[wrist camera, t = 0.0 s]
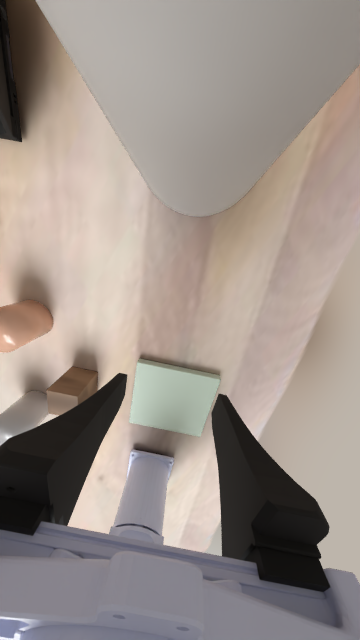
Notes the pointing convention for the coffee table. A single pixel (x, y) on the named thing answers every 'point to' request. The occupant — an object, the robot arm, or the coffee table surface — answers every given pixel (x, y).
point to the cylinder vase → (208, 83)
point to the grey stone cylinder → (23, 415)
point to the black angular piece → (7, 85)
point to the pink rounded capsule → (23, 324)
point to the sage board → (172, 397)
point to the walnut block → (71, 390)
